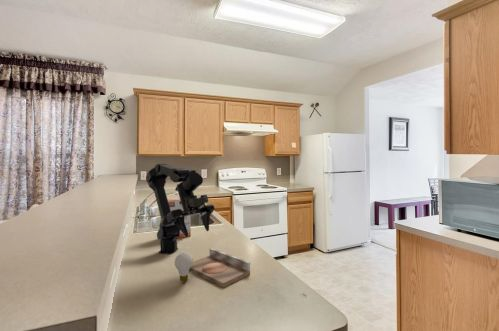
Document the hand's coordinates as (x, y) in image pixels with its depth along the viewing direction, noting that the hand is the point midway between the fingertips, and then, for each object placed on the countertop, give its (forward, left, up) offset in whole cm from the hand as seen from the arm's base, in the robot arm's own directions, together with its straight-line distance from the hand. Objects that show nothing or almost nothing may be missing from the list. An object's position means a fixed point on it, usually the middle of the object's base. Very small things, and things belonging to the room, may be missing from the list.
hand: (197, 233), depth 99 cm
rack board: (+8, -1, -14) cm, 16 cm away
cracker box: (-27, +35, -14) cm, 46 cm away
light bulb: (-1, -11, -14) cm, 18 cm away
